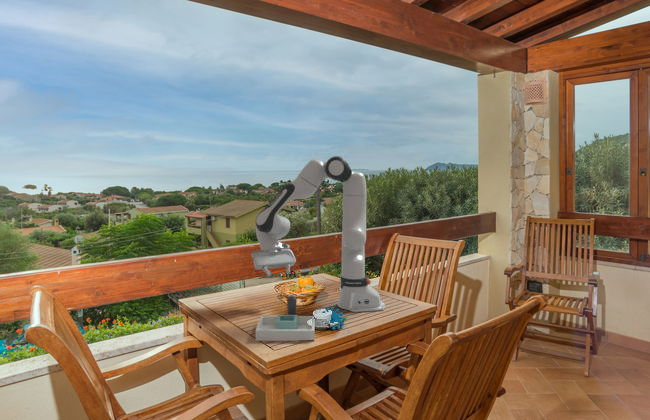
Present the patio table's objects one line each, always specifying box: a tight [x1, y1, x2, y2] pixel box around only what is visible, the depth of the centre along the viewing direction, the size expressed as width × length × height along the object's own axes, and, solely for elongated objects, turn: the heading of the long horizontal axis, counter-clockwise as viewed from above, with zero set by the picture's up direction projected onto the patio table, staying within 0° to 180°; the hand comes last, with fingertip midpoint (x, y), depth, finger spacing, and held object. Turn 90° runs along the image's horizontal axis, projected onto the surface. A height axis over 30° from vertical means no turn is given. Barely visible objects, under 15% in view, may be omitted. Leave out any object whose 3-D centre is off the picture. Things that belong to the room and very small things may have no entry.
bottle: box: [286, 294, 297, 315], centre depth 179 cm, size 4×4×10 cm
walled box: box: [255, 314, 316, 342], centre depth 162 cm, size 22×16×5 cm
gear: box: [321, 306, 348, 331], centre depth 170 cm, size 11×6×10 cm
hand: (279, 274), depth 188 cm, fingers open, 8 cm apart
